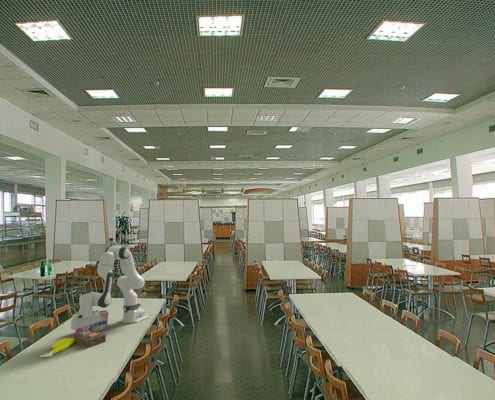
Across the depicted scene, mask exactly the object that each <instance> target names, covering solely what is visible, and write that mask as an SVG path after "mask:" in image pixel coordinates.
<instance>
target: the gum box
mask: <svg viewBox="0 0 495 400" xmlns="http://www.w3.org/2000/svg"><path fill="white" fill-rule="evenodd" d="M98 311H99V310H98ZM99 317H100V321H99V323H95V324H92V325H90V327H89V329H88V330H90V329H92V330H95V331H98V332H101V331H105V330H108V326H109V325H108V323H109V311H108V310H106V309H105V310H100V311H99ZM86 328H87V326H85V328H84V329H86ZM74 331H75V334H77V333H80V332H83V329H82V328H78V329H75V330H74Z"/></svg>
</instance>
